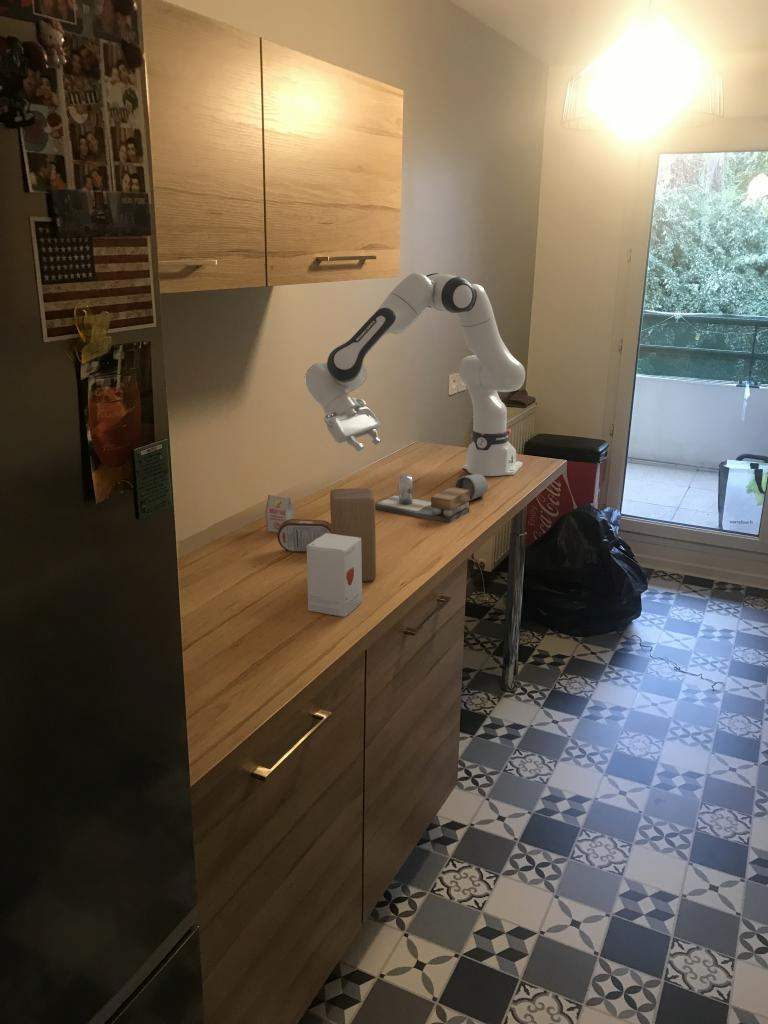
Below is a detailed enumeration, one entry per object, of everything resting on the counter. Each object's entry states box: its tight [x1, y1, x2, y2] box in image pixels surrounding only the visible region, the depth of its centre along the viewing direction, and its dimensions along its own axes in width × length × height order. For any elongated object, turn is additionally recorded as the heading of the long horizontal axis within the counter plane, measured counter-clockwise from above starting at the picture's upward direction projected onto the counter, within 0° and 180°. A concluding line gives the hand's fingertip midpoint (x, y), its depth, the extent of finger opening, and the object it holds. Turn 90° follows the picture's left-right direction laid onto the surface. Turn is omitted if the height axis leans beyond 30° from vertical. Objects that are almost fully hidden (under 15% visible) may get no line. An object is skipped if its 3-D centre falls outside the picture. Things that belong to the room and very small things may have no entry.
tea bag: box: [265, 494, 295, 534], centre depth 226 cm, size 4×7×10 cm, turn 62°
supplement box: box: [306, 533, 363, 618], centre depth 177 cm, size 9×9×15 cm
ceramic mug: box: [454, 473, 489, 502], centre depth 256 cm, size 11×8×8 cm
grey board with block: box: [375, 486, 471, 523], centre depth 244 cm, size 12×26×7 cm, turn 58°
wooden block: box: [329, 487, 377, 582], centre depth 194 cm, size 10×10×20 cm
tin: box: [276, 518, 331, 554], centre depth 211 cm, size 15×3×8 cm, turn 84°
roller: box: [398, 474, 414, 505], centre depth 246 cm, size 4×4×8 cm
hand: (370, 446), depth 248 cm, fingers open, 8 cm apart
